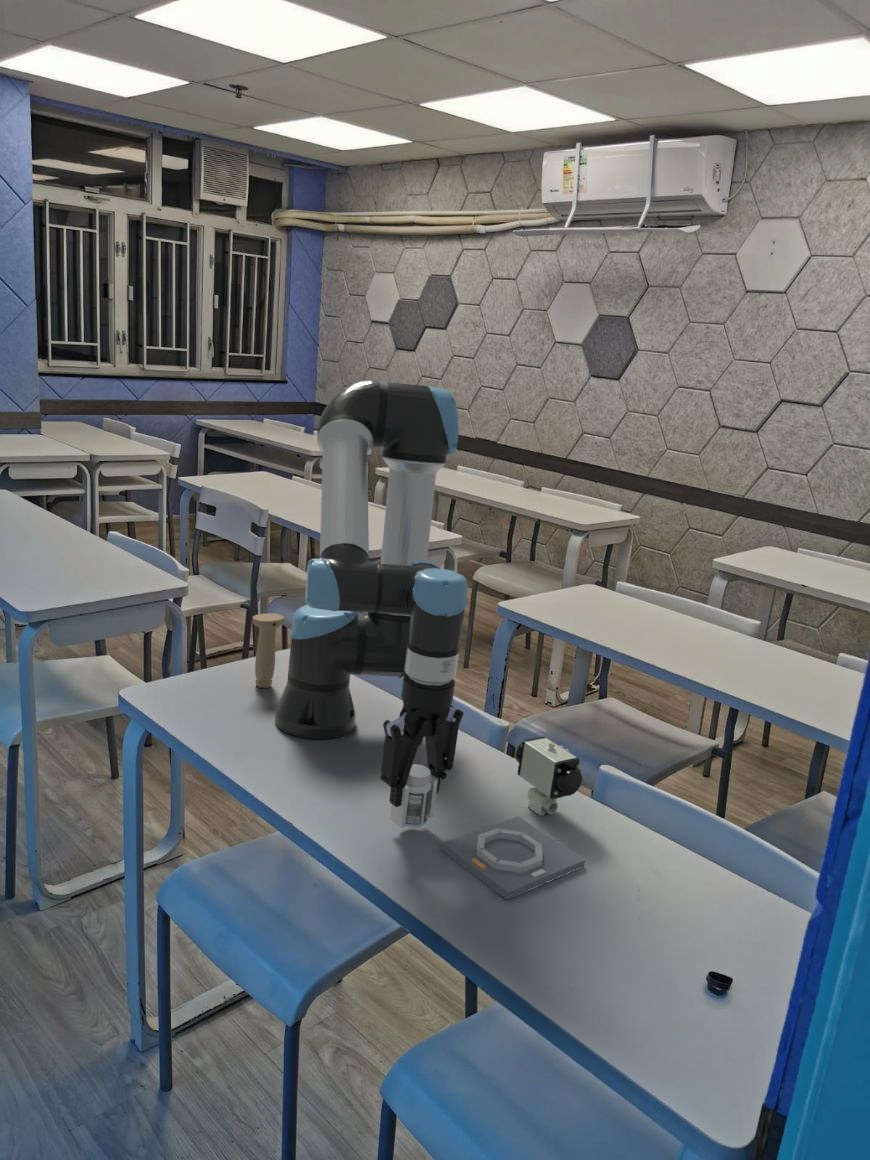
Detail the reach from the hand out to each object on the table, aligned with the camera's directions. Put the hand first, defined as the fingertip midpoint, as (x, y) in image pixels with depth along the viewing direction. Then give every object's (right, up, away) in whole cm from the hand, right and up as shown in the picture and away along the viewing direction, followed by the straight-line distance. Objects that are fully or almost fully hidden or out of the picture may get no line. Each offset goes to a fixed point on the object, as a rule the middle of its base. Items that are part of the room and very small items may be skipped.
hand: (411, 817), depth 133 cm
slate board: (+15, -5, -4) cm, 16 cm away
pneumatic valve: (+21, -2, +12) cm, 24 cm away
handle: (-32, +14, +49) cm, 60 cm away
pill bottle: (0, -1, 0) cm, 1 cm away
